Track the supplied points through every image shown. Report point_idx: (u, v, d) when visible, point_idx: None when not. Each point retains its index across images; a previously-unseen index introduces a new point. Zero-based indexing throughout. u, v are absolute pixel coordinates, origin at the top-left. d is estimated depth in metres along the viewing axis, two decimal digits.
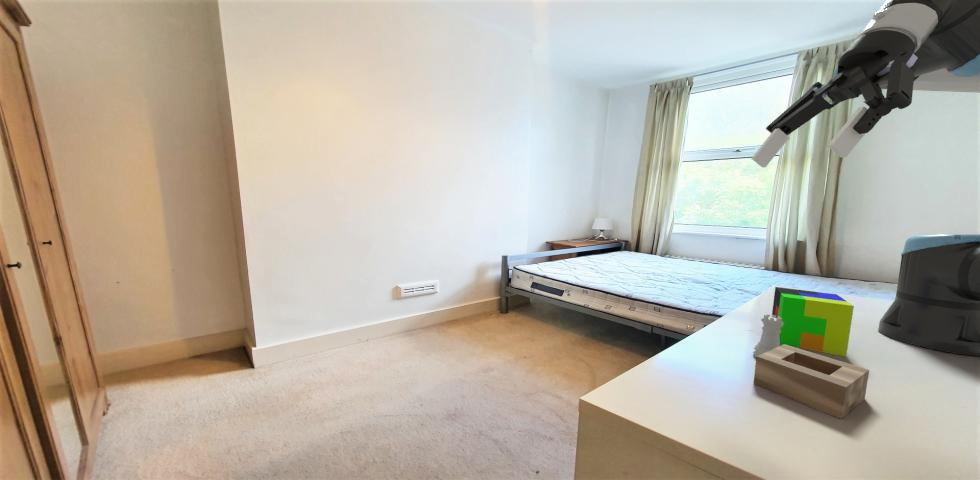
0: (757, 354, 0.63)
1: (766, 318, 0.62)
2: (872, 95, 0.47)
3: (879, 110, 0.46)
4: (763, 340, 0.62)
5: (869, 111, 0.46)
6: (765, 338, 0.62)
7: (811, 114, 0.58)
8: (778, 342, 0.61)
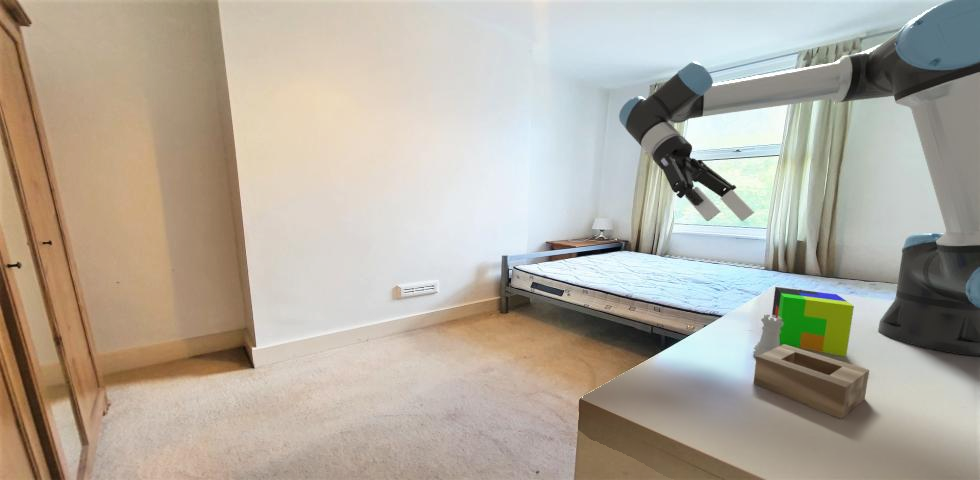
0: (757, 354, 0.63)
1: (766, 318, 0.62)
2: None
3: (686, 192, 0.66)
4: (763, 340, 0.62)
5: None
6: (765, 338, 0.62)
7: (710, 179, 0.74)
8: (778, 342, 0.61)
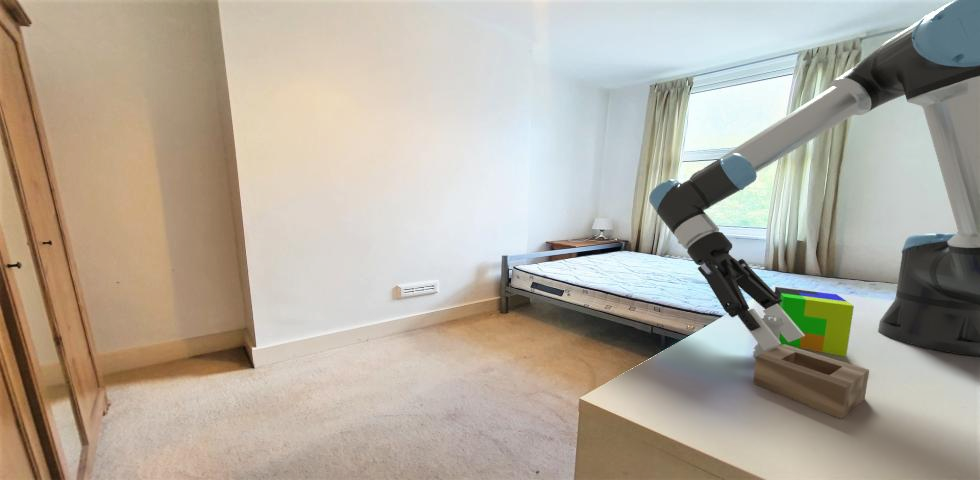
0: (757, 354, 0.63)
1: (766, 318, 0.62)
2: None
3: (740, 314, 0.60)
4: None
5: None
6: None
7: (752, 286, 0.66)
8: None
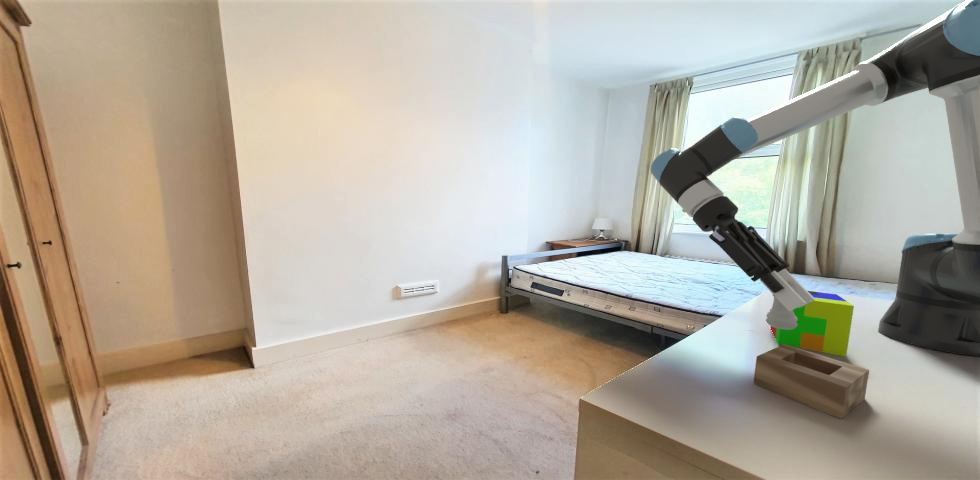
0: (770, 322, 0.61)
1: None
2: (749, 269, 0.62)
3: (763, 277, 0.60)
4: (775, 308, 0.61)
5: None
6: (777, 305, 0.60)
7: (758, 250, 0.65)
8: None
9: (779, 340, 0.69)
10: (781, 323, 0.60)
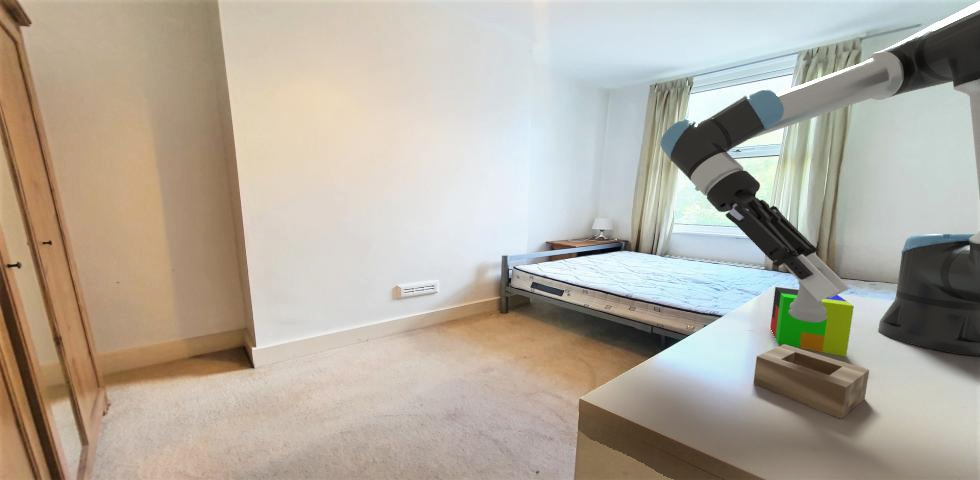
0: (794, 313, 0.53)
1: None
2: None
3: (788, 261, 0.51)
4: (801, 297, 0.53)
5: None
6: (803, 294, 0.52)
7: (782, 231, 0.56)
8: None
9: (779, 340, 0.69)
10: (807, 315, 0.52)
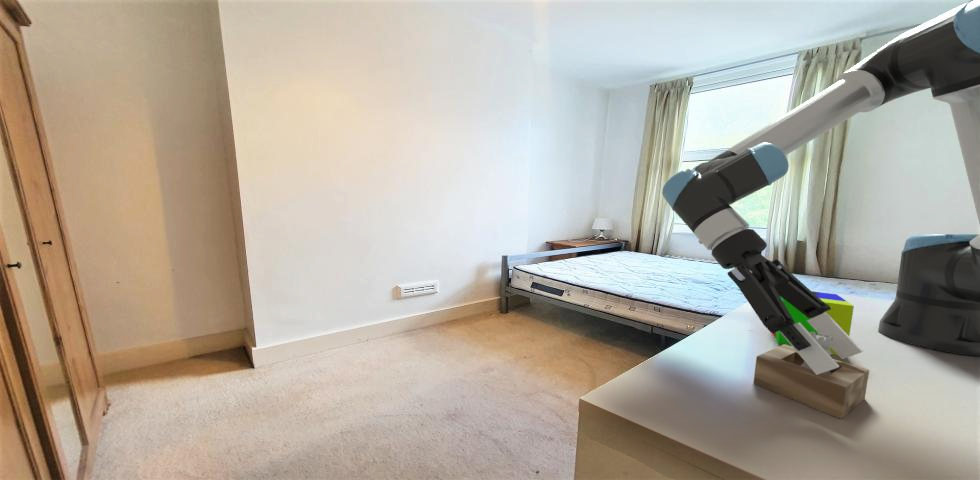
0: None
1: None
2: (769, 317, 0.51)
3: (784, 330, 0.48)
4: None
5: None
6: None
7: (793, 292, 0.55)
8: None
9: (779, 340, 0.69)
10: None
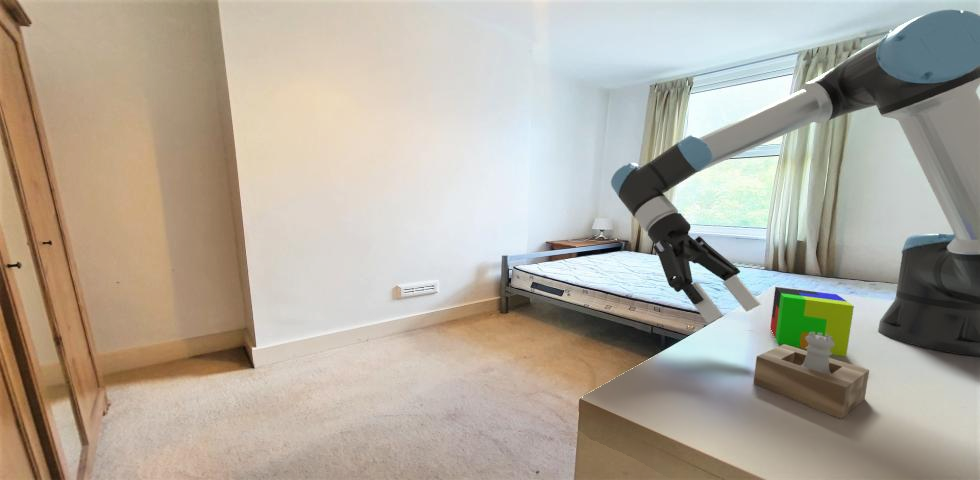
0: None
1: (813, 337, 0.50)
2: None
3: (684, 288, 0.59)
4: (809, 364, 0.51)
5: None
6: (812, 361, 0.50)
7: (711, 262, 0.67)
8: (828, 367, 0.50)
9: (779, 340, 0.69)
10: None
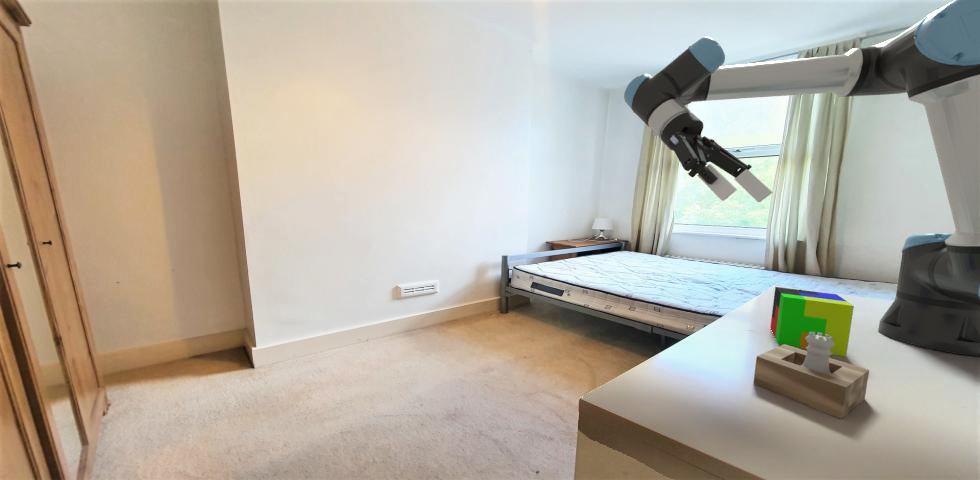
0: None
1: (813, 337, 0.50)
2: None
3: (699, 170, 0.61)
4: (809, 364, 0.51)
5: None
6: (812, 361, 0.50)
7: (724, 159, 0.69)
8: (828, 367, 0.50)
9: (779, 340, 0.69)
10: None
